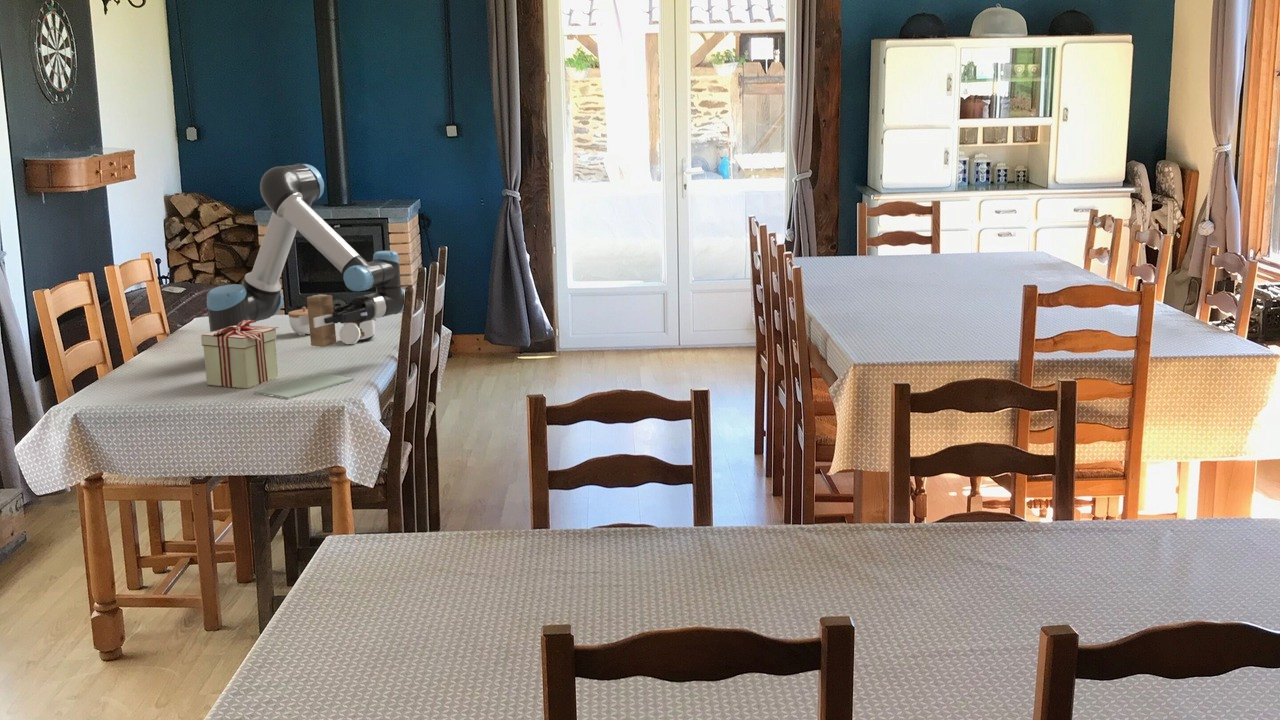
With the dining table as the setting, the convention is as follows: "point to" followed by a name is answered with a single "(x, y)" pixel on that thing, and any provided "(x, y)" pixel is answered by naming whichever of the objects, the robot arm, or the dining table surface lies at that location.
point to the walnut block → (317, 308)
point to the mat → (304, 385)
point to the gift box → (240, 355)
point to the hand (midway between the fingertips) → (307, 322)
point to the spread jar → (357, 331)
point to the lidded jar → (295, 321)
